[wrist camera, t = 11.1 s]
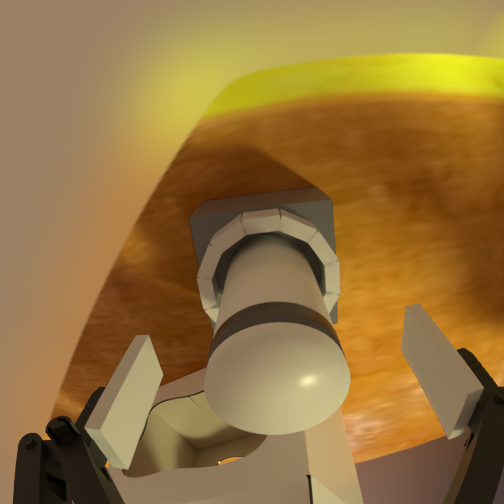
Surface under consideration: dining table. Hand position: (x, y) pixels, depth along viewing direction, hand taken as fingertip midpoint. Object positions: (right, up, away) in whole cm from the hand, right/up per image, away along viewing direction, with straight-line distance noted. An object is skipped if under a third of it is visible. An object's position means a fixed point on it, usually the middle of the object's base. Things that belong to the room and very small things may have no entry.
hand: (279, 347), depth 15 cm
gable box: (-3, -13, +21) cm, 25 cm away
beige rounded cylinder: (0, +3, +8) cm, 9 cm away
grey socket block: (0, +5, +14) cm, 15 cm away
